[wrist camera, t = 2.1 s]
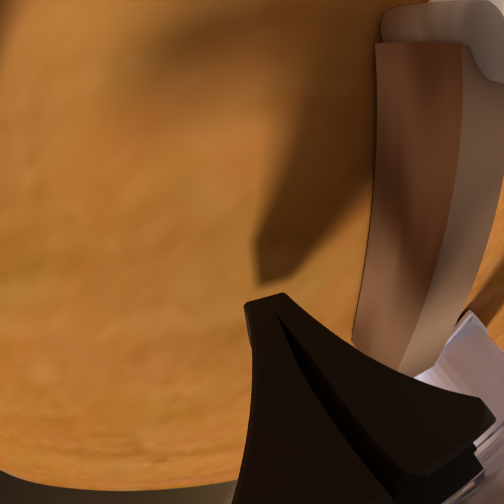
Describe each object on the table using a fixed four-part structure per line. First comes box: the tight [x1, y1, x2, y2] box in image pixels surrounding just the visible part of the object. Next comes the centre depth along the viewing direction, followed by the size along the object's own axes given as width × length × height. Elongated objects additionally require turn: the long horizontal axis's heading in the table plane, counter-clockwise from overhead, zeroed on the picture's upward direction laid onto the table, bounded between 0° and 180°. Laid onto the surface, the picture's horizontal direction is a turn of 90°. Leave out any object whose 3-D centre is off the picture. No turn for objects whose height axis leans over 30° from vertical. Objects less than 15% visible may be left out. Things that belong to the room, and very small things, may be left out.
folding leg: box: [351, 0, 504, 378], centre depth 9 cm, size 15×3×4 cm, turn 5°
